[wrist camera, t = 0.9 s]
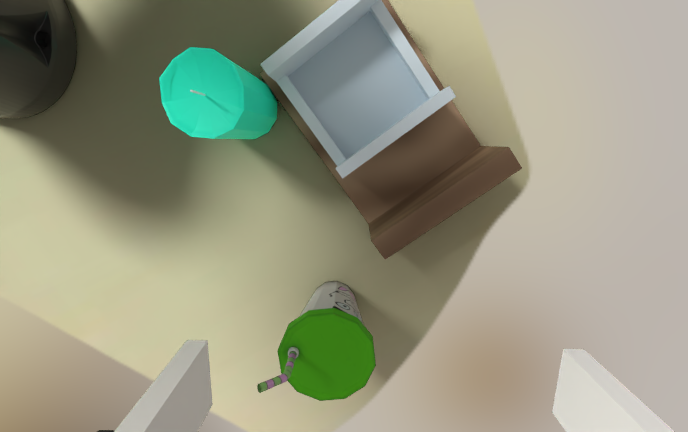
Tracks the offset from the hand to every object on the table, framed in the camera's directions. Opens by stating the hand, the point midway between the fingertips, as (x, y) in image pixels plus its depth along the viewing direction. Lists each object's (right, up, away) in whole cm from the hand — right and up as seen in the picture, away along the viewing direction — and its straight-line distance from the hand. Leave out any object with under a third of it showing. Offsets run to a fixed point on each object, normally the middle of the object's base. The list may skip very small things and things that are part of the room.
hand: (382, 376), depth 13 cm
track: (+2, +15, +21) cm, 26 cm away
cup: (-3, -3, +25) cm, 25 cm away
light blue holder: (0, +18, +19) cm, 26 cm away
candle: (-11, +16, +21) cm, 29 cm away
